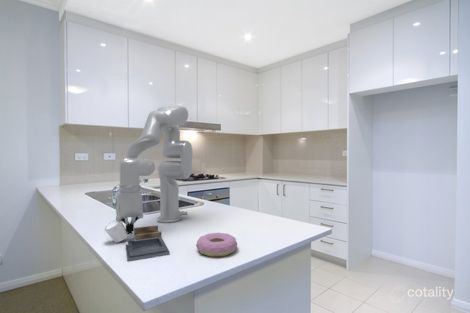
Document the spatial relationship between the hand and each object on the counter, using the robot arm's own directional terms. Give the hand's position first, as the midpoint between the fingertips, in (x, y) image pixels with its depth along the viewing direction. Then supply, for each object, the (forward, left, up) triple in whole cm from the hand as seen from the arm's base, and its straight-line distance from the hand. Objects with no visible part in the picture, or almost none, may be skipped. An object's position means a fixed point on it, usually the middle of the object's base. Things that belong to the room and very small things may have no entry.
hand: (129, 233), depth 109 cm
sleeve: (-7, -1, -3) cm, 8 cm away
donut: (-29, +25, -3) cm, 39 cm away
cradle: (-5, +15, -3) cm, 16 cm away
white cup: (+3, 0, -2) cm, 3 cm away
